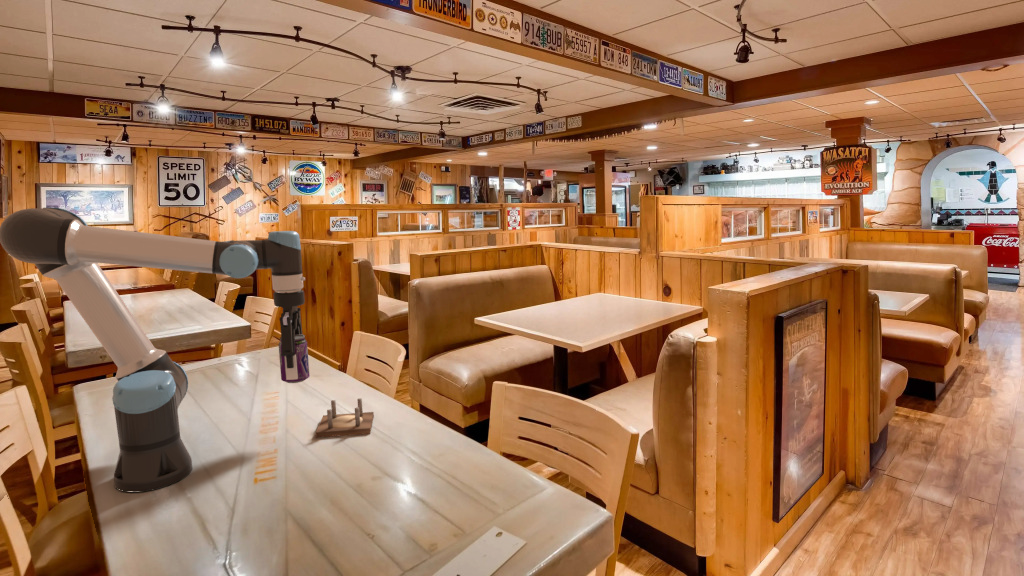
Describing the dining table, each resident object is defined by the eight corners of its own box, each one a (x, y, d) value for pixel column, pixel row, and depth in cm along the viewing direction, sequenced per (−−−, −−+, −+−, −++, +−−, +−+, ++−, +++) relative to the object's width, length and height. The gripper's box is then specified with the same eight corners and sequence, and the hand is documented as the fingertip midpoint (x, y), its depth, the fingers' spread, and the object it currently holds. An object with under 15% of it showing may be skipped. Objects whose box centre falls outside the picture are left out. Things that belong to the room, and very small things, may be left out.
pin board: (370, 433, 151) (369, 410, 150) (316, 437, 148) (314, 414, 147) (373, 416, 162) (372, 395, 161) (323, 420, 160) (322, 398, 159)
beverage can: (300, 385, 146) (296, 340, 144) (275, 383, 147) (272, 339, 146) (314, 376, 153) (311, 334, 151) (291, 375, 154) (288, 333, 152)
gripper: (295, 296, 137) (302, 385, 141) (310, 284, 157) (316, 363, 160) (263, 297, 136) (271, 387, 140) (282, 285, 155) (288, 364, 159)
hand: (295, 374), depth 150 cm, fingers closed on beverage can, 7 cm apart
